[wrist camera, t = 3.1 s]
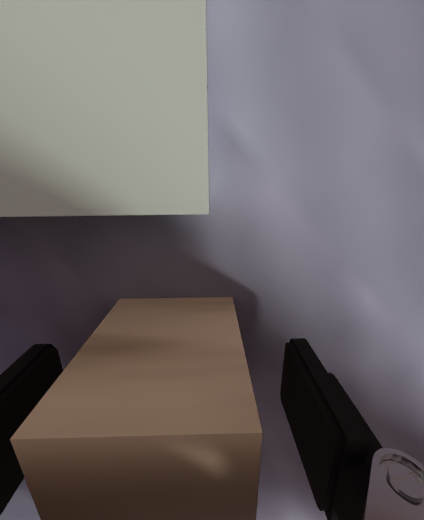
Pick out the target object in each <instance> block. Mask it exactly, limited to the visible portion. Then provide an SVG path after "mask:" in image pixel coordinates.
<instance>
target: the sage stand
mask: <svg viewBox="0 0 424 520" xmlns="http://www.w3.org/2000/svg"><path fill="white" fill-rule="evenodd" d="M184 214H209V188H208V121H207V54H206V0H0V217H33V216H108V215H184Z"/></svg>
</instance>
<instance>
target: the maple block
mask: <svg viewBox="0 0 424 520" xmlns="http://www.w3.org/2000/svg"><path fill="white" fill-rule="evenodd" d="M10 441H11V443H12V446H13V449H14V451H15V454H16V456H17V459H18V461H19V464H20V467H21V469H22V472H23V474H24V477H25V480H26V482H27V485H28V487H29V490H30V492H31V495H32V498H33V500H34V503H35V505H36V508H37V510H38V513H39V516H40V518H41V520H256V511H257V498H258V485H259V472H260V459H261V446H262V428H261V424H260V419H259V415H258V410H257V406H256V401H255V397H254V392H253V388H252V383H251V379H250V374H249V370H248V365H247V361H246V356H245V352H244V347H243V343H242V338H241V334H240V329H239V325H238V320H237V316H236V311H235V307H234V302H233V298H232V297H197V298H143V299H119V300H118V301H117V303H116V304H115V305H114V306H113V308H112V309H111V310H110V312H109V313H108V314H107V315H106V317H105V318H104V319H103V321H102V322H101V323H100V324H99V326H98V327H97V328H96V330H95V331H94V332H93V333H92V335H91V336H90V337H89V339H88V340H87V341H86V342H85V344H84V345H83V346H82V347H81V349H80V350H79V351H78V353H77V354H76V355H75V356H74V358H73V359H72V360H71V362H70V363H69V364H68V365H67V367H66V368H65V369H64V371H63V372H62V373H61V374H60V376H59V377H58V378H57V380H56V381H55V382H54V383H53V385H52V386H51V387H50V389H49V390H48V391H47V392H46V394H45V395H44V396H43V397H42V399H41V400H40V401H39V403H38V404H37V405H36V406H35V408H34V409H33V410H32V412H31V413H30V414H29V415H28V417H27V418H26V419H25V421H24V422H23V423H22V424H21V426H20V427H19V428H18V430H17V431H16V432H15V433H14V435H13V436H12V437H11V439H10Z"/></svg>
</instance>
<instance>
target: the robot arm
mask: <svg viewBox="0 0 424 520" xmlns="http://www.w3.org/2000/svg"><path fill="white" fill-rule="evenodd" d="M62 372H63V369H62V365H61V362H60V358H59V354H58V350H57V348H54V346H53V345H52V344H35V345H33V346H32V347H31V348H30V349H28V350H27V351H26V352H25V353H24V354H23V355H22V356H21V357H20V358H19V359H17V360H16V361H15V362H14V363H13V364H12V365H11V366H10V367H9V368H8V369H7V370H5V371H4V372H3V373H2V374H1V375H0V515H1V513H2V512H3V510H4V509H5V507H6V506H7V504H8V502H9V501H10V499H11V498H12V496H13V494H14V493H15V491H16V490H17V488H18V486H19V485H20V483H21V482H22V480H23V478H24V474H23V472H22V469H21V467H20V464H19V461H18V459H17V456H16V454H15V451H14V449H13V446H12V443H11V441H10V439H11V437H12V436H13V435H14V433H15V432H16V431H17V430H18V428H19V427H20V426H21V424H22V423H23V422H24V421H25V419H26V418H27V417H28V415H29V414H30V413H31V412H32V410H33V409H34V408H35V406H36V405H37V404H38V403H39V401H40V400H41V399H42V397H43V396H44V395H45V394H46V392H47V391H48V390H49V389H50V387H51V386H52V385H53V383H54V382H55V381H56V380H57V378H58V377H59V376H60V374H61V373H62ZM280 395H281V402H282V405H283V408H284V411H285V414H286V417H287V419H288V422H289V425H290V428H291V431H292V434H293V437H294V440H295V443H296V446H297V449H298V452H299V455H300V457H301V460H302V463H303V466H304V469H305V472H306V475H307V478H308V481H309V484H310V487H311V490H312V492H313V495H314V498H315V501H316V504H317V506H318V508H319V510H320V511H325V514H326V517H327V520H424V466H423V465H422V464H421V463H420V462H419V461H418V460H416V459H414V458H413V457H411V456H410V455H408V454H406V453H404V452H402V451H400V450H397V449H392V448H383V447H382V446H381V444H380V443H379V441H378V440H377V438H376V437H375V435H374V434H373V432H372V431H371V429H370V428H369V426H368V425H367V423H366V422H365V420H364V419H363V417H362V416H361V414H360V413H359V411H358V410H357V408H356V407H355V405H354V404H353V402H352V401H351V399H350V398H349V397H348V395H347V394H346V392H345V391H344V389H343V388H342V386H341V385H340V383H339V382H338V380H337V379H336V377H335V376H334V375H333V374H332V373H327V371H326V369H325V368H324V366H323V365H322V363H321V362H320V360H319V359H318V357H317V355H316V354H315V352H314V351H313V349H312V348H311V346H310V345H309V343H308V341H307V340H306V339H304V338H303V339H290V342H289V343H286V344H285V353H284V363H283V373H282V383H281V393H280Z"/></svg>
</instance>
